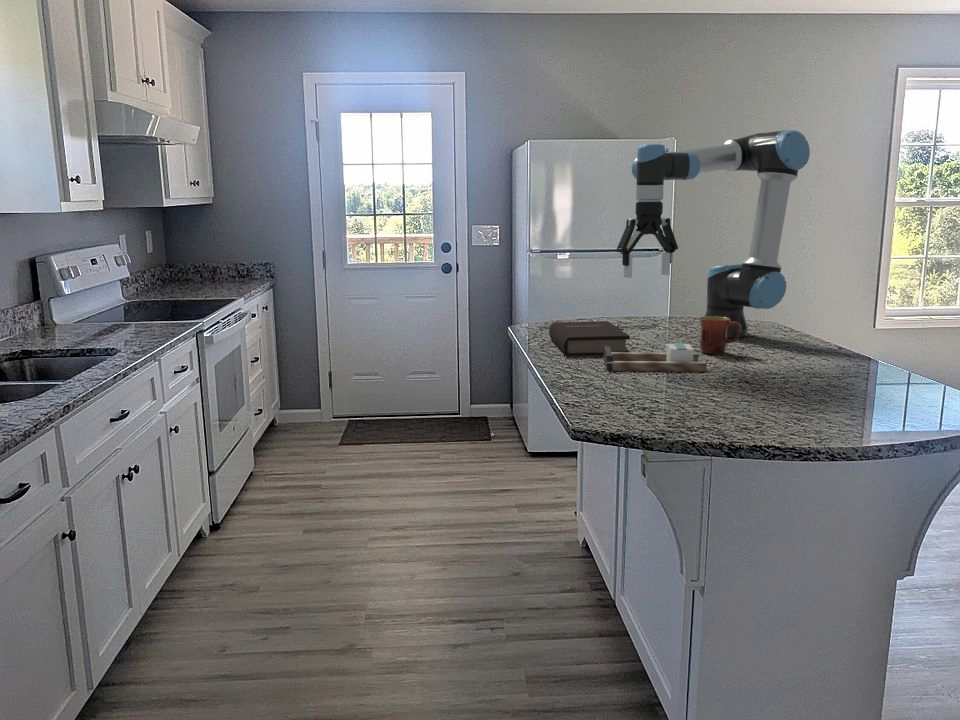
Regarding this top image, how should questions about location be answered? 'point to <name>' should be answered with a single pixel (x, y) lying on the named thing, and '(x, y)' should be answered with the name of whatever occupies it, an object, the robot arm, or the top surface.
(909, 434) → the top surface
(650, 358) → the rail board
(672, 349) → the block
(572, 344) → the book
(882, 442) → the top surface
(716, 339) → the mug
